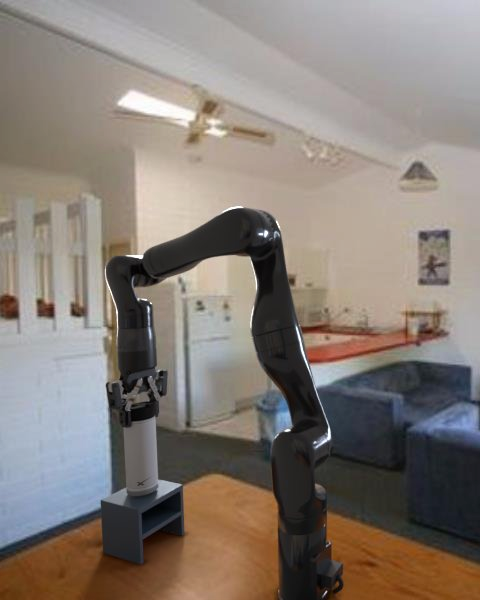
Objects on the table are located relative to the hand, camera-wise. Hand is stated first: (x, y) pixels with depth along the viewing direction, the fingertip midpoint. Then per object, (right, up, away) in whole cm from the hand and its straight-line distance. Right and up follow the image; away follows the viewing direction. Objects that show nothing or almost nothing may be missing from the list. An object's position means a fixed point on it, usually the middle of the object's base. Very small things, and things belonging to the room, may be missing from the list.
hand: (140, 421), depth 105 cm
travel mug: (0, -16, +1) cm, 16 cm away
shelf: (0, -28, +2) cm, 28 cm away
